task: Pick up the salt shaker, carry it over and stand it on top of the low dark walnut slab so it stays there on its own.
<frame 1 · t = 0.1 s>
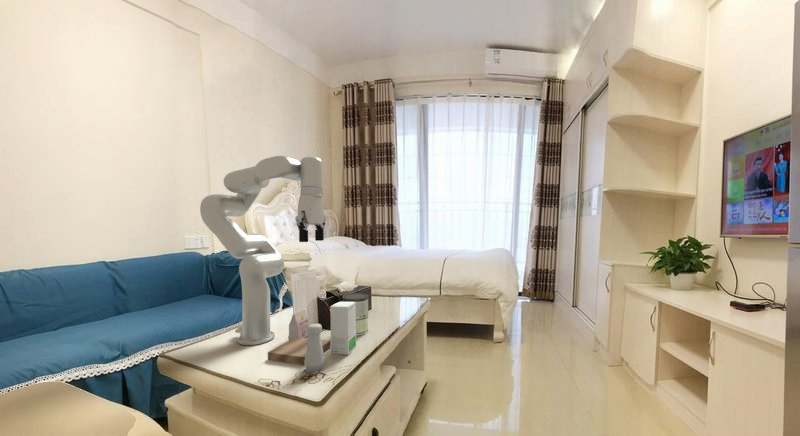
hand: (311, 241, 110), 37 cm above the table, tool pointing down, fingers open, 9 cm apart
skincare box: (343, 350, 106), on the table
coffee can: (355, 332, 124), on the table
walnut slab: (300, 354, 103), on the table
salt shaker: (314, 370, 92), on the table
tea bag: (299, 339, 117), on the table
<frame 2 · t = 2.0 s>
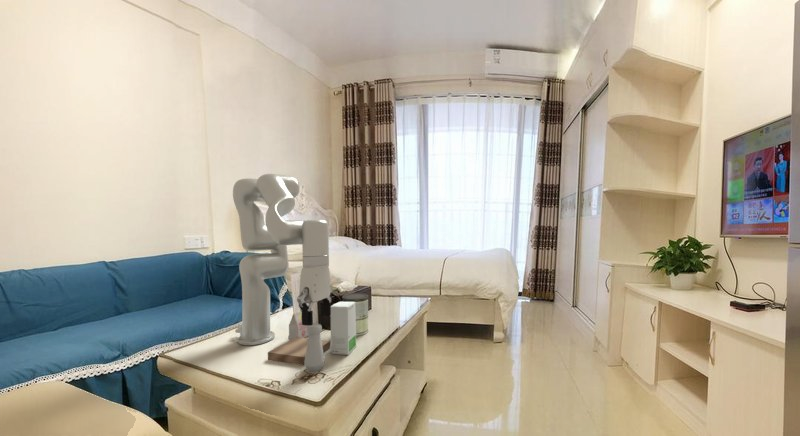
hand: (317, 320, 92), 14 cm above the table, tool pointing down, fingers open, 9 cm apart
nothing on the table moved.
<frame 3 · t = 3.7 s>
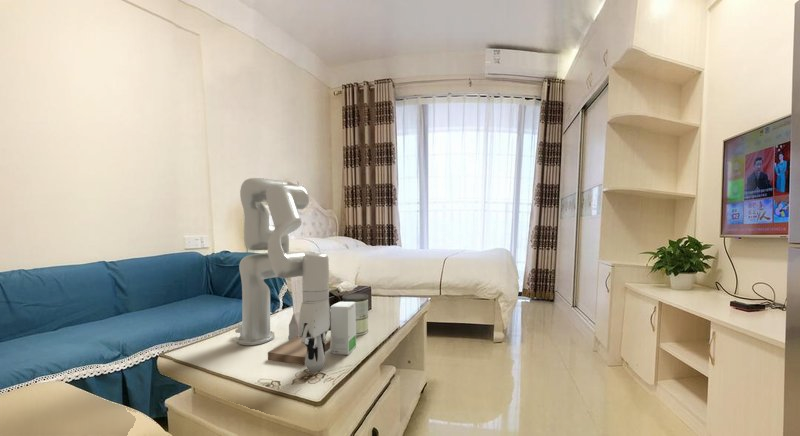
hand: (316, 357, 92), 3 cm above the table, tool pointing down, fingers closed on salt shaker, 3 cm apart
salt shaker: (314, 369, 92), on the table, touching gripper
everything else where it was.
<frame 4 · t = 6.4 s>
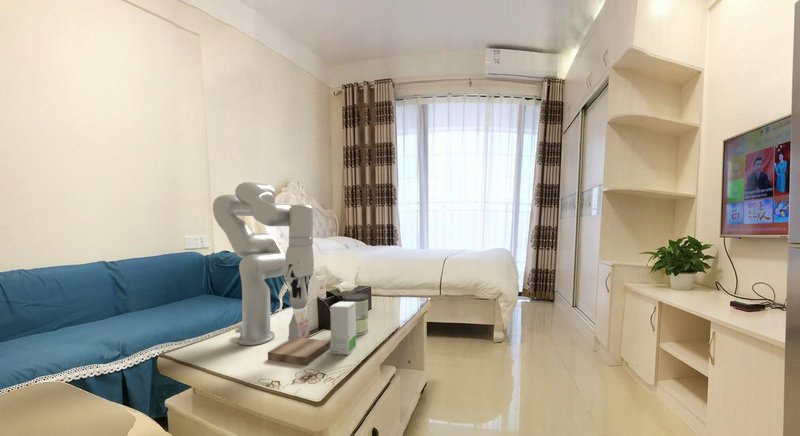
hand: (299, 297, 103), 19 cm above the table, tool pointing down, fingers closed on salt shaker, 3 cm apart
salt shaker: (298, 308, 103), point 15 cm above the table, touching gripper
everything else where it was.
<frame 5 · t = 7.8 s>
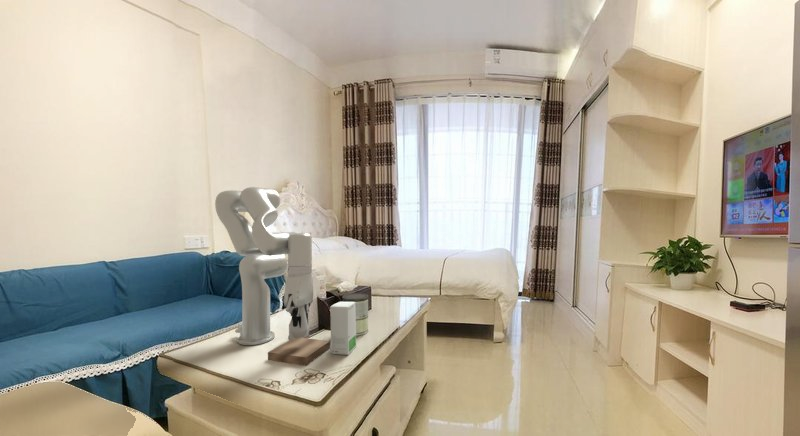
hand: (300, 325, 103), 9 cm above the table, tool pointing down, fingers closed on salt shaker, 3 cm apart
salt shaker: (299, 336, 103), point 6 cm above the table, touching gripper
everything else where it was.
when the fingers open (7 cm above the table, at t = 9.0 s): salt shaker stays where it is, resting on walnut slab.
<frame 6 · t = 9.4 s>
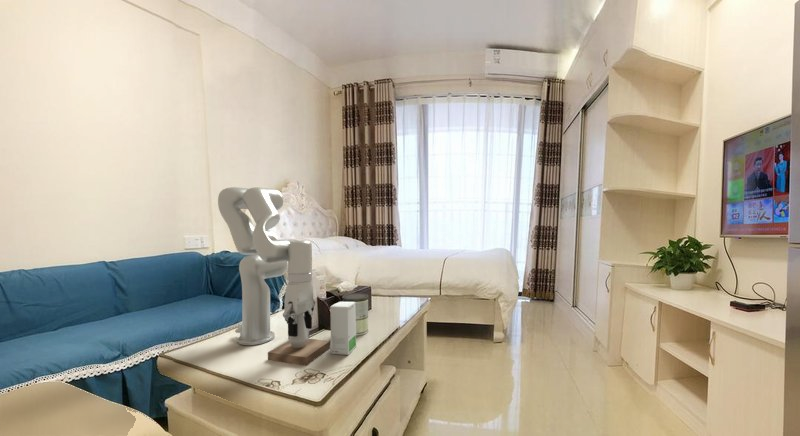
hand: (300, 331, 103), 7 cm above the table, tool pointing down, fingers open, 7 cm apart
salt shaker: (298, 346, 103), point 2 cm above the table, touching walnut slab
everything else where it was.
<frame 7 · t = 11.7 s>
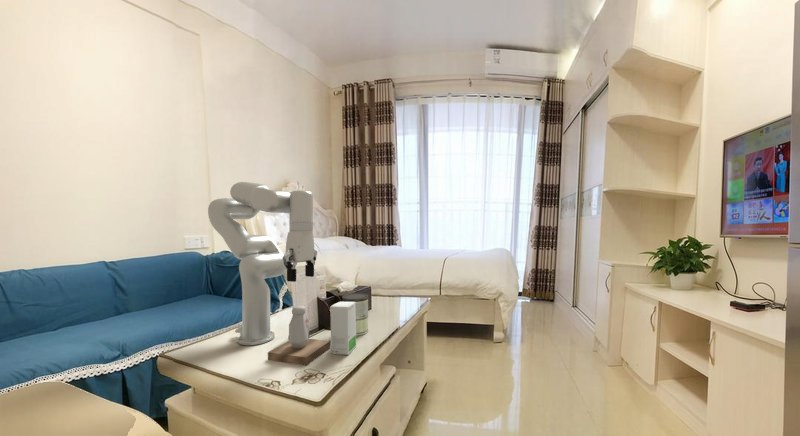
hand: (301, 278, 105), 24 cm above the table, tool pointing down, fingers open, 9 cm apart
nothing on the table moved.
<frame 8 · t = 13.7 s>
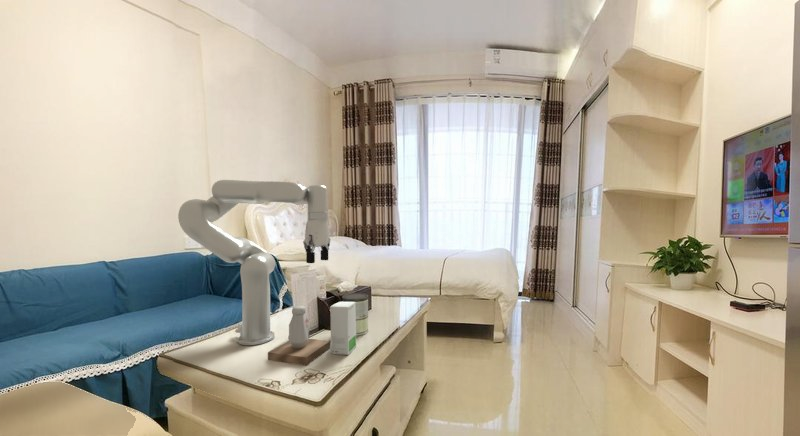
hand: (317, 261, 121), 28 cm above the table, tool pointing down, fingers open, 9 cm apart
nothing on the table moved.
at the end: salt shaker inside the target area on the walnut slab (0.5 cm from its centre), point 2.3 cm above the walnut slab's base; salt shaker tilted 0°; the gripper is holding nothing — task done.
